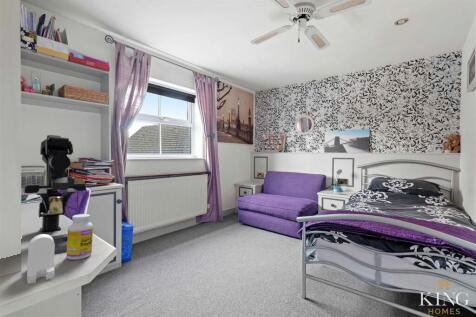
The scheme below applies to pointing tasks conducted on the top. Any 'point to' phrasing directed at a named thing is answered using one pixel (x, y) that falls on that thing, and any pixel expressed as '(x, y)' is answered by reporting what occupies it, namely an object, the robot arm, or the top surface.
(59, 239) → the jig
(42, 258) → the cable organizer
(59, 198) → the gold rounded cylinder
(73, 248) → the supplement bottle
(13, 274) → the top surface
